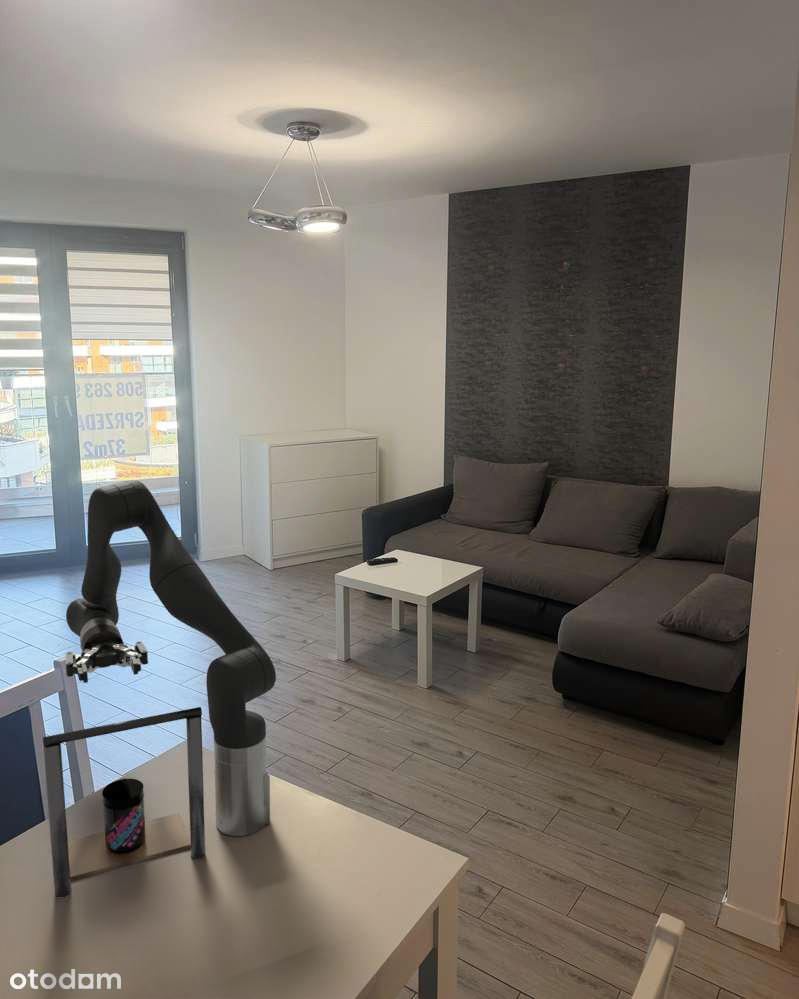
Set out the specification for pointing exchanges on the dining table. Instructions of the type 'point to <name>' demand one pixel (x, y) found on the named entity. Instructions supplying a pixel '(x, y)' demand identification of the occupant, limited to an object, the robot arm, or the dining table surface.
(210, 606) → the robot arm
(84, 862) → the walnut board
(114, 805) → the supplement container
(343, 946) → the dining table surface
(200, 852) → the frame
